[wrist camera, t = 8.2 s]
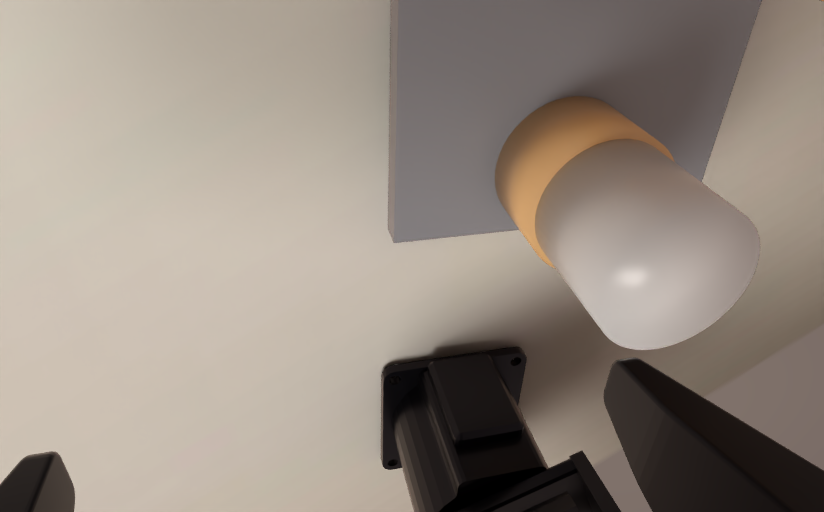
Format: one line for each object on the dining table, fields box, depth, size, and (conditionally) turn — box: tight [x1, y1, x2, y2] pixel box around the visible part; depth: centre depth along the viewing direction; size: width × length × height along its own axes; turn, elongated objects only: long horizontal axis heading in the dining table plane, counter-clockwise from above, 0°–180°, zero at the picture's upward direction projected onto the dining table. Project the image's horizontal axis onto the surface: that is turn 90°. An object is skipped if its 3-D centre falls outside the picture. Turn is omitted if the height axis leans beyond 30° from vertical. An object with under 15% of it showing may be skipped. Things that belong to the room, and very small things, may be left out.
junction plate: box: [388, 0, 762, 350], centre depth 16 cm, size 16×12×8 cm
